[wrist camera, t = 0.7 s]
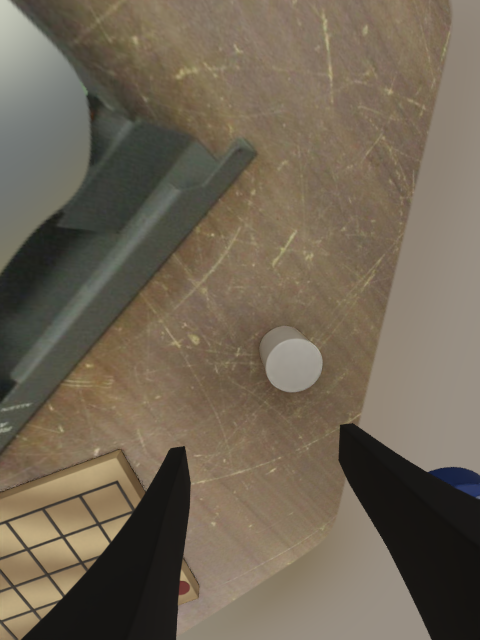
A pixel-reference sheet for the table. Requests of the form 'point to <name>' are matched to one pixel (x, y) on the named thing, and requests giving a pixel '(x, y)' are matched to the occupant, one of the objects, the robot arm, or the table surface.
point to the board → (63, 536)
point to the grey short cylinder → (290, 359)
